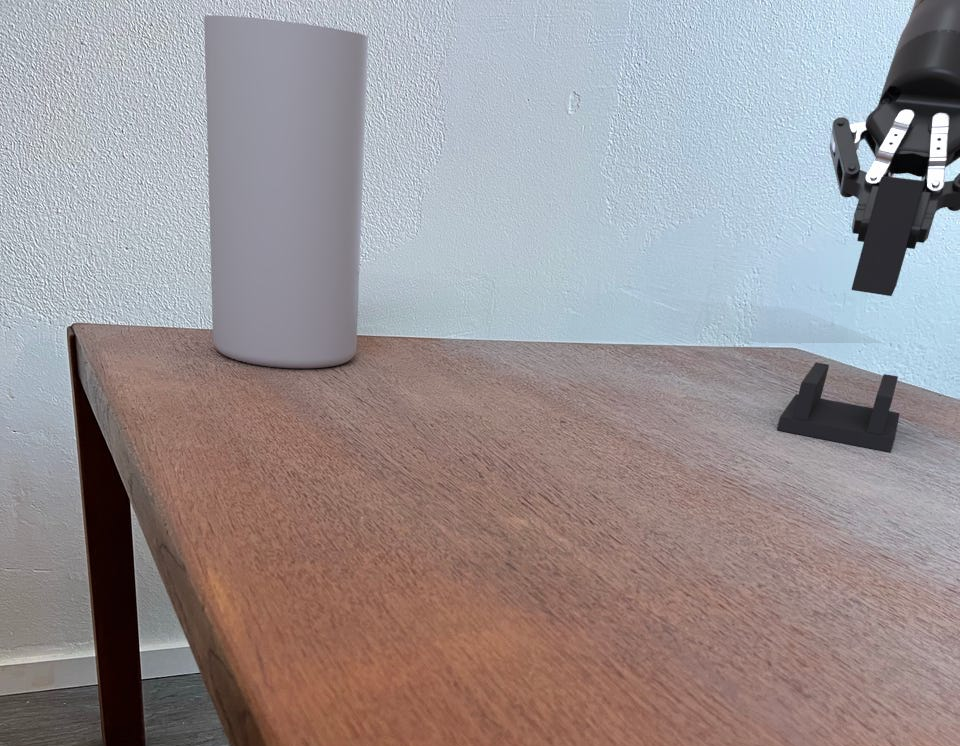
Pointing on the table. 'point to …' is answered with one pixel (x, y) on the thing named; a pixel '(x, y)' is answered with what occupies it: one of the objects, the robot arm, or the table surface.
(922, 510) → the table surface
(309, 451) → the table surface
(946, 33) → the robot arm
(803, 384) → the base pad
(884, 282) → the block
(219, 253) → the cylinder vase
